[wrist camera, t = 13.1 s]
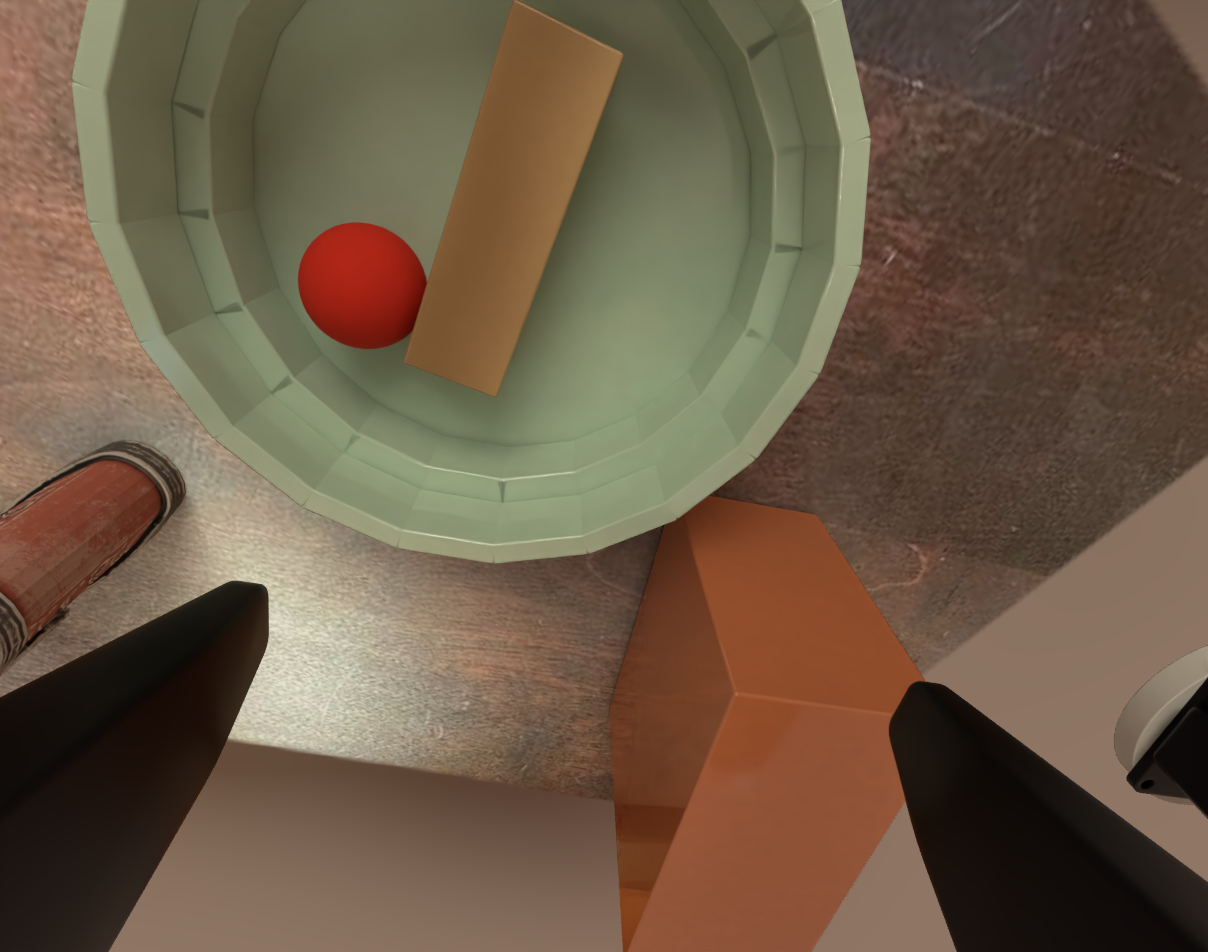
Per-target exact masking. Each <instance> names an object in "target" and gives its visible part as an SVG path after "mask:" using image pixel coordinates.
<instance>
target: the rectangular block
mask: <svg viewBox="0 0 1208 952" xmlns="http://www.w3.org/2000/svg"><path fill="white" fill-rule="evenodd" d="M916 681H924V682H926V681H925V679H924V678H923V676H922V675H921V673H920V672H919V670H918V669H917V667H916V666H915V664H914V663H913V661H912V659H911V658H910V656H909V655H908V653H907V652H906V650H905V649H904V647H903V646H902V644H901V643H900V641H899V640H898V638H897V636H896V635H895V633H894V632H893V630H892V629H891V627H890V626H889V624H888V623H887V621H886V620H885V618H884V617H883V615H882V613H881V612H880V610H879V609H878V607H877V606H876V604H875V603H874V601H873V600H872V598H871V597H870V595H869V593H868V592H867V590H866V589H865V587H864V586H863V584H862V583H861V581H860V580H859V578H858V577H857V575H856V574H855V572H854V570H853V569H852V567H851V566H850V564H849V563H848V561H847V560H846V558H845V557H844V555H843V554H842V552H841V551H840V549H839V547H838V546H837V544H836V543H835V541H834V540H833V538H832V537H831V535H830V534H829V532H828V531H827V529H826V528H825V526H824V524H823V523H822V521H821V520H820V518H819V517H818V516H817V515H815V514H810V513H804V512H798V511H793V510H787V509H782V508H776V507H771V506H765V505H760V504H754V503H748V502H743V501H737V500H732V499H726V498H721V497H715V496H708V497H706V498H705V499H704V500H702V501H701V502H700V503H698V504H697V505H696V506H694V507H693V508H692V509H690V510H689V511H688V512H686V513H685V514H684V515H682V516H681V517H680V518H677V519H676V520H675V521H673V522H670V523H668V524H665V526H664V529H663V532H662V535H661V539H660V542H659V545H658V549H657V552H656V555H655V559H654V562H653V565H652V569H651V572H650V575H649V578H648V582H647V585H646V588H645V592H644V595H643V598H642V602H641V605H640V608H639V612H638V615H637V618H636V621H635V625H634V628H633V631H632V635H631V638H630V641H629V645H628V648H627V651H626V655H625V658H624V661H623V665H622V668H621V671H620V674H619V678H618V681H617V684H616V688H615V691H614V694H613V698H612V701H611V704H610V708H609V720H610V737H611V754H612V771H613V788H614V805H615V822H616V838H617V839H616V840H617V855H618V856H617V857H618V874H619V890H620V907H621V924H622V942H623V952H812V950H813V949H814V947H815V946H816V944H817V942H818V941H819V939H820V937H821V936H822V934H823V933H824V931H825V929H826V928H827V926H828V925H829V923H830V921H831V920H832V918H833V917H834V915H835V913H836V912H837V910H838V909H839V907H840V905H841V904H842V902H843V901H844V899H845V897H846V896H847V894H848V893H849V891H850V889H851V888H852V886H853V885H854V883H855V881H856V880H857V878H858V876H859V875H860V873H861V872H862V870H863V869H864V867H865V865H866V864H867V862H868V860H869V859H870V857H871V856H872V854H873V852H874V851H875V849H876V848H877V846H878V844H879V843H880V841H881V840H882V838H883V837H884V835H885V833H886V832H887V830H888V828H889V827H890V825H891V824H892V822H893V820H894V819H895V817H896V816H897V814H898V812H899V811H900V809H901V808H902V806H903V804H904V803H905V801H906V800H905V796H904V792H903V789H902V785H901V781H900V777H899V773H898V770H897V766H896V762H895V758H894V754H893V751H892V747H891V743H890V739H889V723H890V720H891V717H892V716H893V714H894V712H895V710H896V709H897V707H898V705H899V703H900V701H901V700H902V698H903V696H904V694H905V693H906V691H907V689H908V687H909V686H910V685H911V684H912V683H914V682H916Z"/></svg>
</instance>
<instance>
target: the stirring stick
mask: <svg viewBox="0 0 1208 952" xmlns="http://www.w3.org/2000/svg"><path fill="white" fill-rule="evenodd" d="M623 59H624V55H623V53H622V52H620V51H618V50H616V49H614V48H612V47H610V46H608V45H607V44H605V43H603V42H601V41H599V40H597V39H595V38H593V37H591V36H589V35H587V34H585V33H583V32H581V31H579V30H577V29H575V28H573V27H571V26H570V25H568V24H566V23H564V22H562V21H560V20H558V19H556V18H554V17H552V16H550V15H548V14H546V13H544V12H542V11H540V10H538V9H536V8H535V7H533V6H531V5H529V4H527V3H525V2H523V1H521V0H513V1H512V3H511V7H510V10H509V13H508V16H507V20H506V23H505V26H504V30H503V33H502V36H501V40H500V43H499V46H498V50H497V53H496V56H495V60H494V63H493V66H492V69H491V73H490V76H489V79H488V83H487V86H486V89H485V93H484V96H483V99H482V103H481V106H480V109H479V113H478V116H477V119H476V122H475V126H474V129H473V132H472V136H471V139H470V142H469V146H468V149H467V152H466V156H465V159H464V162H463V166H462V169H461V172H460V176H459V179H458V182H457V185H456V189H455V192H454V195H453V199H452V202H451V205H450V209H449V212H448V215H447V219H446V222H445V225H444V229H443V232H442V235H441V238H440V242H439V245H438V248H437V252H436V255H435V258H434V262H433V265H432V268H431V272H430V275H429V278H428V282H427V285H426V288H425V291H424V295H423V298H422V301H421V305H420V308H419V311H418V315H417V318H416V321H415V325H414V328H413V331H412V335H411V338H410V341H409V344H408V348H407V351H406V354H405V358H404V363H405V364H407V365H410V366H413V367H415V368H418V369H421V370H423V371H426V372H429V373H431V374H434V375H436V376H439V377H442V378H444V379H447V380H450V381H452V382H455V383H458V384H460V385H463V386H466V387H468V388H471V389H474V390H476V391H479V392H481V393H484V394H487V395H489V396H492V397H496V396H497V395H498V393H499V390H500V387H501V385H502V382H503V379H504V377H505V374H506V371H507V369H508V366H509V363H510V361H511V358H512V355H513V353H514V350H515V347H516V345H517V342H518V339H519V337H520V334H521V331H522V329H523V326H524V323H525V321H526V318H527V315H528V313H529V310H530V307H531V305H532V302H533V299H534V297H535V294H536V291H537V289H538V286H539V283H540V280H541V278H542V275H543V272H544V270H545V267H546V264H547V262H548V259H549V256H550V254H551V251H552V248H553V246H554V243H555V240H556V238H557V235H558V232H559V230H560V227H561V224H562V222H563V219H564V216H565V214H566V211H567V208H568V206H569V203H570V200H571V198H572V195H573V192H574V190H575V187H576V184H577V182H578V179H579V176H580V174H581V171H582V168H583V166H584V163H585V160H586V158H587V155H588V152H589V150H590V147H591V144H592V142H593V139H594V136H595V134H596V131H597V128H598V126H599V123H600V120H601V117H602V115H603V112H604V109H605V107H606V104H607V101H608V99H609V96H610V93H611V91H612V88H613V85H614V83H615V80H616V77H617V75H618V72H619V69H620V67H621V64H622V61H623Z"/></svg>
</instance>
